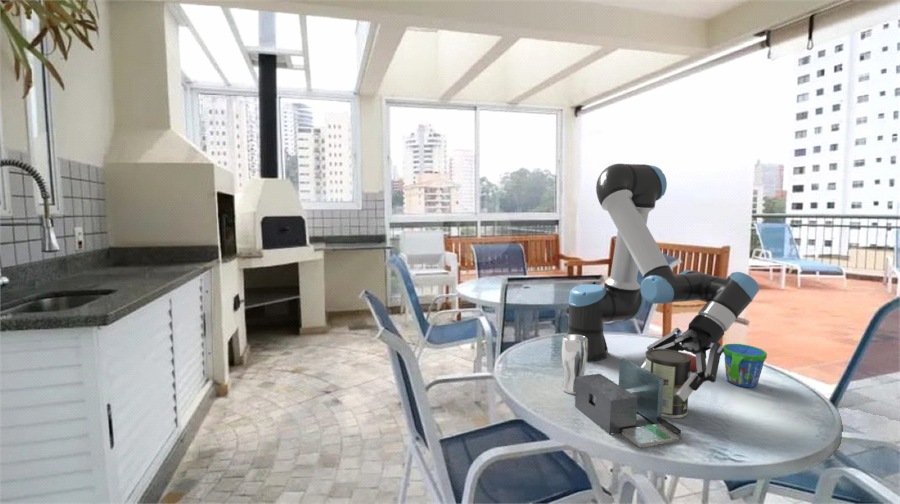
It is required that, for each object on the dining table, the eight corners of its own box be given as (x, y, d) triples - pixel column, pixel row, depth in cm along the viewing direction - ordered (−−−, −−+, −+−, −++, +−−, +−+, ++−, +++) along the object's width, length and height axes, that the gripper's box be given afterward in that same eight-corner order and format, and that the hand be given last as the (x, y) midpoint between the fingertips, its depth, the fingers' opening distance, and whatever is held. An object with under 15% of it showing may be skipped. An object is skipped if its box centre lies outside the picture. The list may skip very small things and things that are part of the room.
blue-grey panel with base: (577, 404, 112) (579, 362, 111) (621, 398, 116) (623, 358, 115) (630, 446, 93) (633, 397, 92) (681, 437, 97) (684, 390, 95)
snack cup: (750, 396, 119) (753, 360, 117) (709, 383, 127) (711, 349, 126) (773, 383, 127) (777, 349, 126) (734, 371, 136) (736, 339, 135)
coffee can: (680, 401, 115) (683, 349, 114) (693, 420, 105) (697, 364, 104) (638, 397, 117) (641, 346, 116) (647, 416, 107) (651, 360, 106)
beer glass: (555, 386, 124) (556, 335, 122) (574, 383, 126) (576, 332, 125) (571, 397, 117) (573, 342, 116) (591, 392, 120) (593, 339, 118)
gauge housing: (575, 406, 112) (576, 376, 111) (620, 400, 116) (621, 371, 115) (628, 450, 92) (630, 414, 91) (680, 440, 96) (683, 406, 95)
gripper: (764, 348, 101) (708, 418, 99) (680, 320, 125) (633, 375, 123) (749, 327, 99) (691, 398, 97) (666, 303, 123) (618, 359, 121)
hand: (658, 386), depth 110 cm, fingers open, 13 cm apart
